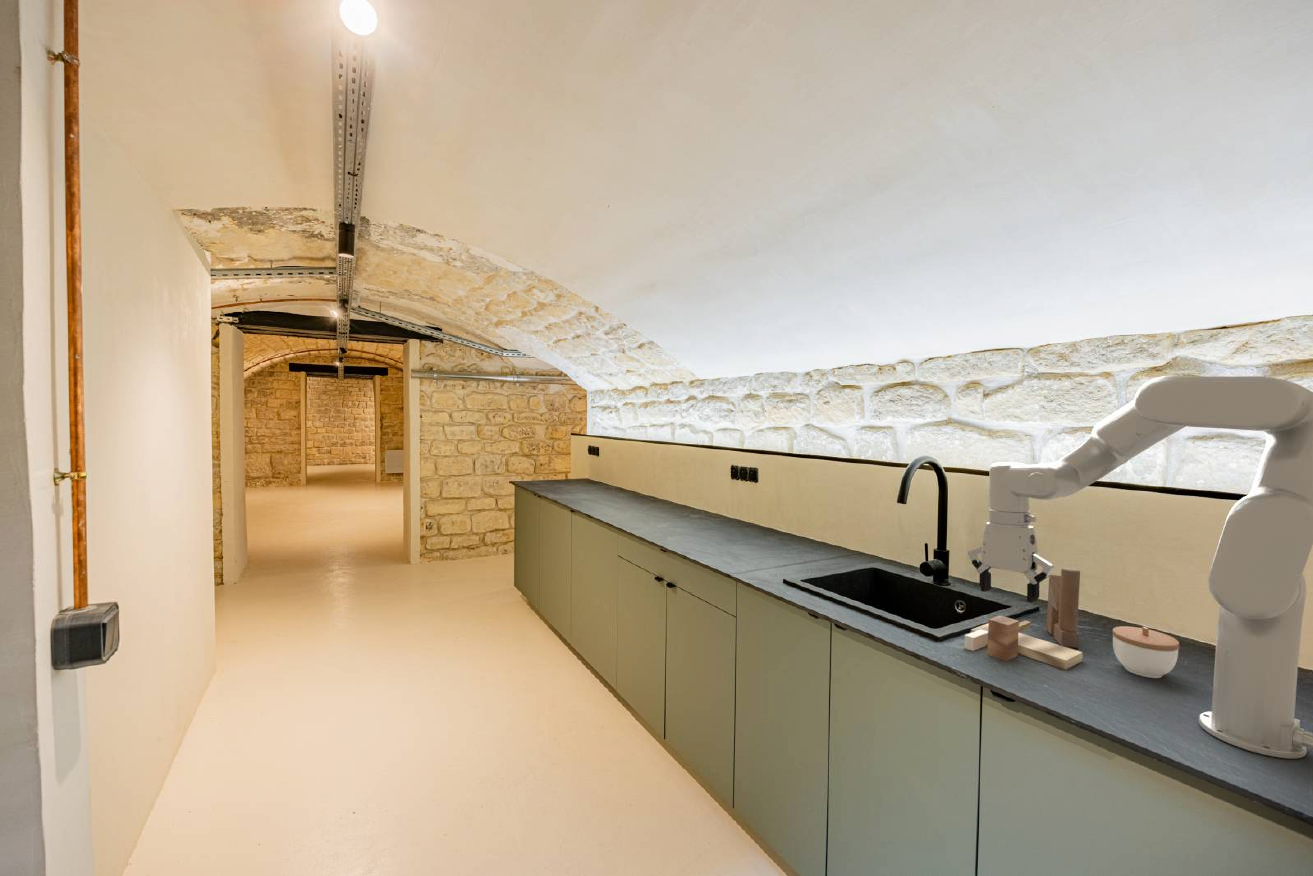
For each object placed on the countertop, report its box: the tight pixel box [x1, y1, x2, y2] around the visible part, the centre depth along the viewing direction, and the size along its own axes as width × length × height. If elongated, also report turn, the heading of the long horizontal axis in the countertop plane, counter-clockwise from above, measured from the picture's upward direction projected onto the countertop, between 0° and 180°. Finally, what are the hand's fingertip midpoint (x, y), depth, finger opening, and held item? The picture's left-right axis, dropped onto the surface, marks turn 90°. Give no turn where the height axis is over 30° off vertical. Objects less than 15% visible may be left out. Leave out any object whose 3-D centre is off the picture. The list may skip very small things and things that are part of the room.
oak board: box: [970, 622, 1083, 670], centre depth 132 cm, size 20×8×2 cm, turn 33°
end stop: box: [963, 629, 988, 652], centre depth 133 cm, size 2×7×3 cm, turn 123°
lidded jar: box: [1112, 625, 1180, 679], centre depth 121 cm, size 11×11×9 cm
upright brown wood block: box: [986, 615, 1032, 662], centre depth 130 cm, size 4×14×8 cm, turn 123°
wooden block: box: [1046, 567, 1081, 649], centre depth 138 cm, size 4×11×18 cm, turn 162°
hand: (1008, 595), depth 127 cm, fingers open, 9 cm apart
